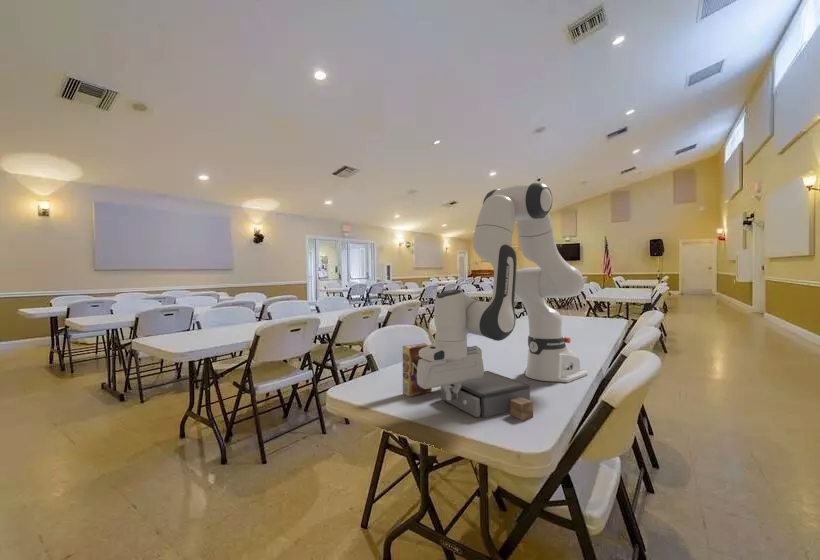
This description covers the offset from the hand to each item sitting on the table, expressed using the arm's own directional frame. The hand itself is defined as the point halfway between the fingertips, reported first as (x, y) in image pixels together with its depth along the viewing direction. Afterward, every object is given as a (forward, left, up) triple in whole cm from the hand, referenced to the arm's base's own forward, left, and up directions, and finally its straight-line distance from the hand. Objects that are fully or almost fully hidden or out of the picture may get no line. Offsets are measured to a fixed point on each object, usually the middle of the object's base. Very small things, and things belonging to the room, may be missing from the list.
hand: (452, 399), depth 103 cm
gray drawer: (-9, 0, -3) cm, 9 cm away
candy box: (+1, -18, -3) cm, 18 cm away
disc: (-8, 0, -2) cm, 8 cm away
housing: (-12, 0, -3) cm, 12 cm away
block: (-13, +13, -3) cm, 19 cm away
